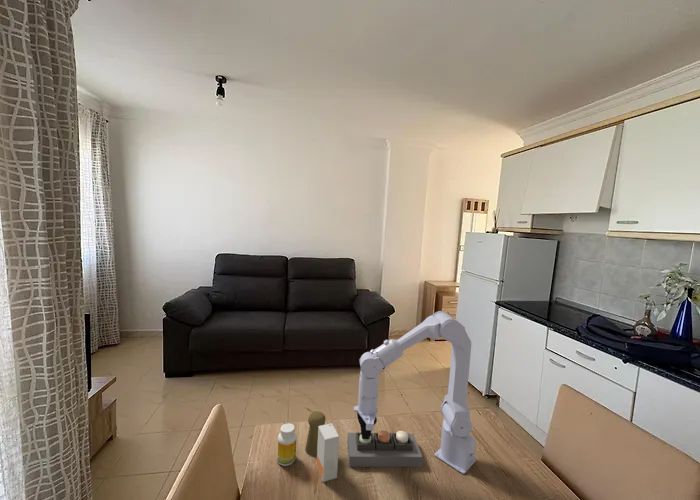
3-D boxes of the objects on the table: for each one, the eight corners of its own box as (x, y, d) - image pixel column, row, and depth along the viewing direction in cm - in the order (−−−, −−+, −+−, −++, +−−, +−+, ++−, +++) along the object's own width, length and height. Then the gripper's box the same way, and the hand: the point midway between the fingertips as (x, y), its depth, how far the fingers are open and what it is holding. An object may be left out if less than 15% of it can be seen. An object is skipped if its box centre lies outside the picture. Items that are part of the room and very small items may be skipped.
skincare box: (315, 466, 85) (317, 425, 84) (330, 462, 86) (332, 422, 86) (322, 483, 79) (324, 439, 78) (337, 478, 81) (340, 436, 80)
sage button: (370, 438, 92) (370, 433, 92) (371, 446, 89) (372, 441, 88) (358, 438, 92) (358, 433, 92) (359, 446, 88) (360, 441, 88)
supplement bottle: (275, 454, 88) (276, 423, 88) (293, 451, 90) (295, 420, 89) (277, 468, 83) (279, 435, 82) (297, 464, 85) (298, 431, 84)
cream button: (406, 435, 93) (406, 430, 93) (409, 444, 89) (409, 438, 89) (394, 435, 93) (395, 430, 93) (397, 443, 89) (397, 438, 89)
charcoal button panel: (412, 442, 97) (413, 428, 96) (421, 466, 87) (422, 451, 86) (347, 441, 95) (348, 427, 95) (349, 466, 85) (350, 450, 85)
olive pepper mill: (315, 459, 87) (317, 423, 86) (301, 449, 91) (302, 414, 90) (329, 448, 92) (331, 413, 91) (315, 439, 95) (316, 405, 95)
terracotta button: (388, 435, 92) (388, 430, 92) (390, 443, 89) (391, 438, 89) (376, 435, 92) (377, 430, 92) (378, 443, 89) (379, 438, 89)
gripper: (352, 381, 96) (350, 422, 97) (356, 408, 82) (353, 455, 83) (374, 381, 97) (372, 422, 98) (382, 408, 82) (379, 455, 83)
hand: (365, 437), depth 90 cm, fingers closed, pressing on sage button
